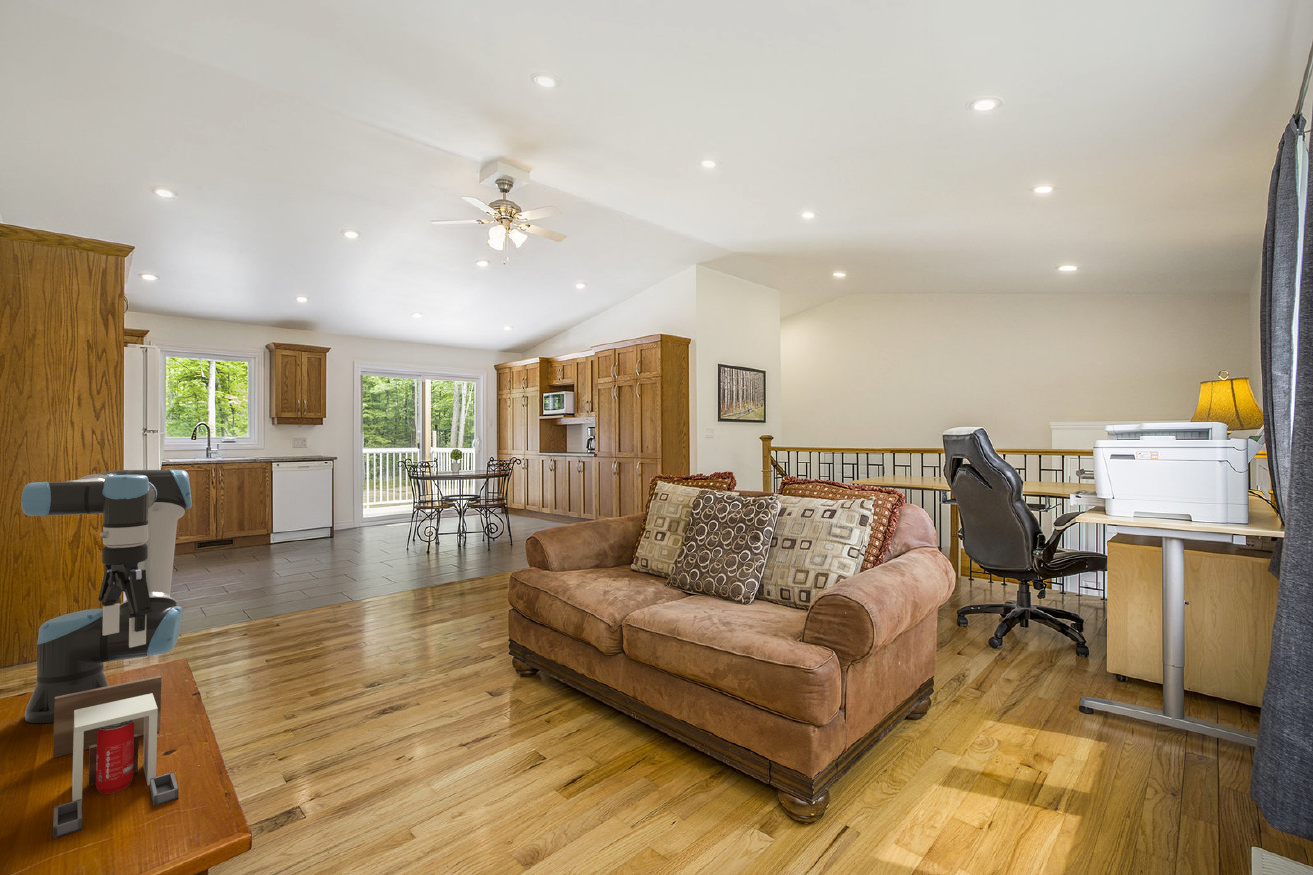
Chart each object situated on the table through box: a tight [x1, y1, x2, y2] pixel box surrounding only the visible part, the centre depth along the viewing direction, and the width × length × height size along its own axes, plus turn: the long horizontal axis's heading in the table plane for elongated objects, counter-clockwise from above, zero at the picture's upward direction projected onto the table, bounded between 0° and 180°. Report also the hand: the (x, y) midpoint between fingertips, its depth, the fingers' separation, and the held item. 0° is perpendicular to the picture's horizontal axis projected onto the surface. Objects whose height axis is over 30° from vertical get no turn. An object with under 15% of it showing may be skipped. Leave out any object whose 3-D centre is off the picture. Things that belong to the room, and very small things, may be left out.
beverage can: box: [95, 720, 134, 795], centre depth 112 cm, size 5×5×12 cm
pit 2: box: [149, 771, 179, 807], centre depth 110 cm, size 8×3×2 cm, turn 45°
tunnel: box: [71, 693, 158, 804], centre depth 113 cm, size 10×11×14 cm
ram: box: [52, 675, 162, 786], centre depth 122 cm, size 20×17×12 cm
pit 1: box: [52, 799, 83, 840], centre depth 101 cm, size 8×3×2 cm, turn 45°
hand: (123, 639), depth 132 cm, fingers open, 13 cm apart
